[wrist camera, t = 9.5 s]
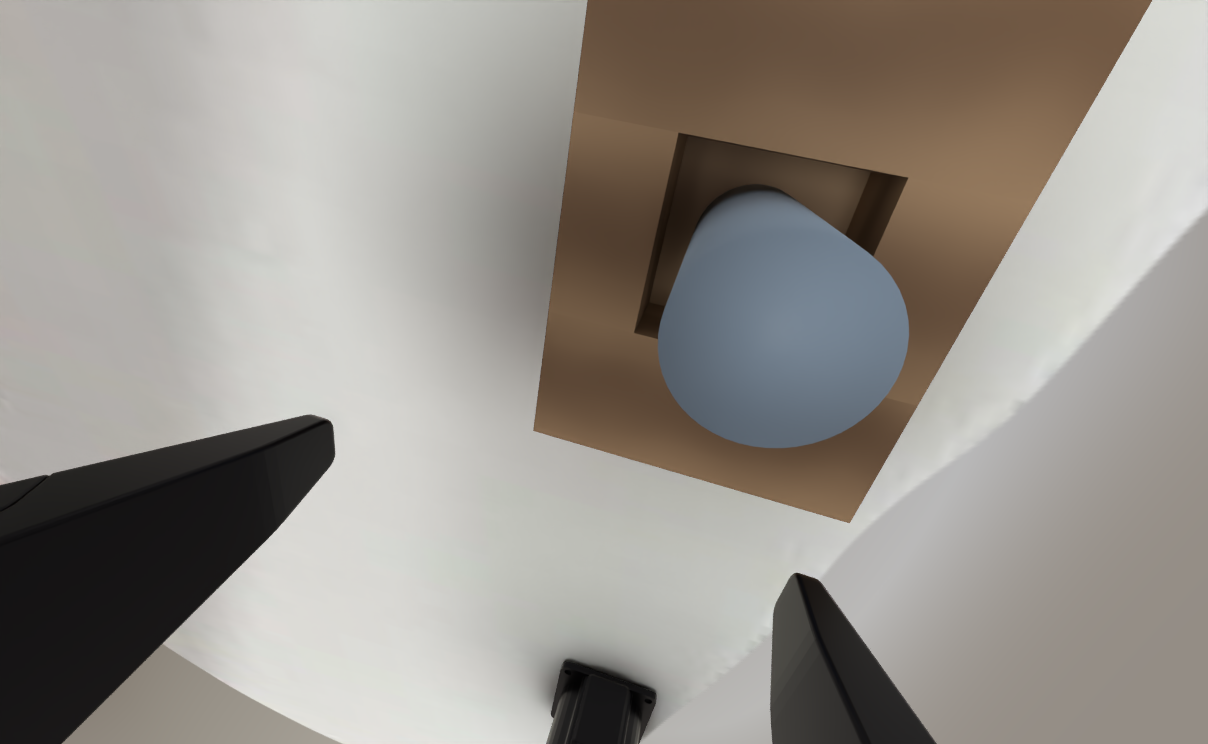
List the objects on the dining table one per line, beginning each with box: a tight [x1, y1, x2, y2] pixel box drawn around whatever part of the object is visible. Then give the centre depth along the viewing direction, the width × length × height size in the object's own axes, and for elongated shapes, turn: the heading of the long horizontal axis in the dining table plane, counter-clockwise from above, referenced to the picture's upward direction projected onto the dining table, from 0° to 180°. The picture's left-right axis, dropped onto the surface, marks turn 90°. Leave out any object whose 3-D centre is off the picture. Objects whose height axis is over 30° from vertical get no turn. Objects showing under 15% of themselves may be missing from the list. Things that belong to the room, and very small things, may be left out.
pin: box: [658, 184, 909, 448], centre depth 12 cm, size 4×4×10 cm
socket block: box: [533, 0, 1152, 523], centre depth 16 cm, size 16×12×4 cm
